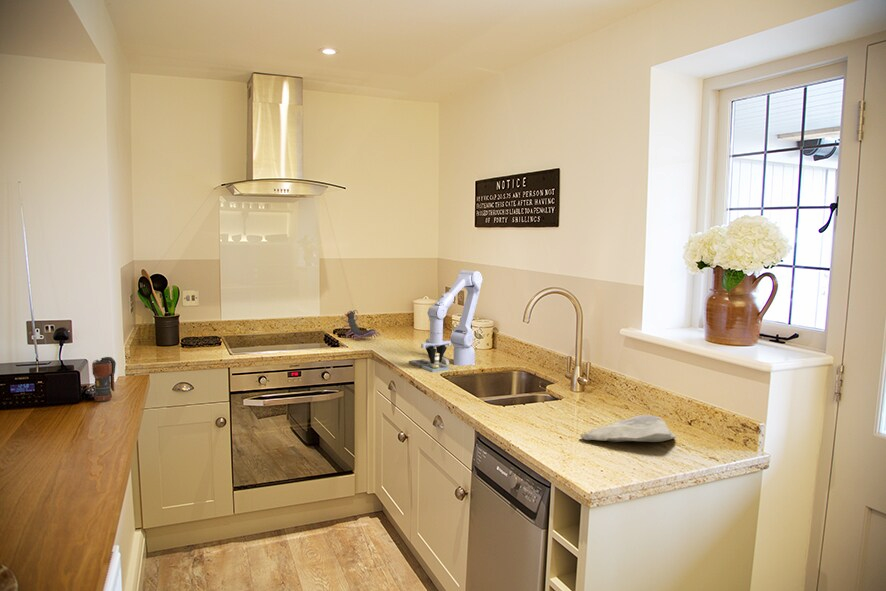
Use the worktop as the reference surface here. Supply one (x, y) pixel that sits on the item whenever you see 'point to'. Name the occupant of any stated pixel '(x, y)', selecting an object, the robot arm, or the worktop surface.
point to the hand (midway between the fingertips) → (435, 362)
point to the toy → (355, 328)
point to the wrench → (442, 357)
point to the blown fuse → (436, 360)
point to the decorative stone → (633, 430)
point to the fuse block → (419, 362)
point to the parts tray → (443, 368)
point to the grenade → (103, 378)
